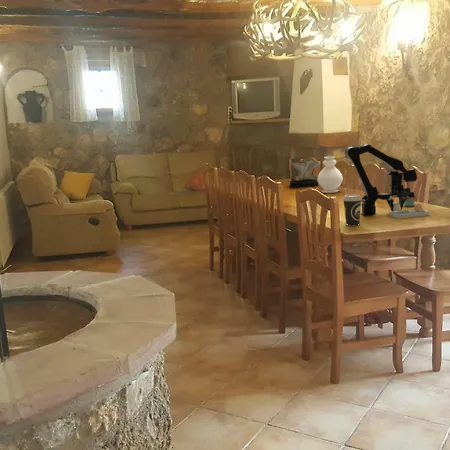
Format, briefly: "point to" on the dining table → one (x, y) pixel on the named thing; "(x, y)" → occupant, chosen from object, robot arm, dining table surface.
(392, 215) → the egg carton
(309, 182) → the coral
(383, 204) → the dining table surface
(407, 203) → the cupcake
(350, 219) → the coffee cup
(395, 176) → the robot arm
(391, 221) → the dining table surface
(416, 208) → the brown egg
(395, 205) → the cream egg
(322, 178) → the decorative vase
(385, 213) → the dining table surface
